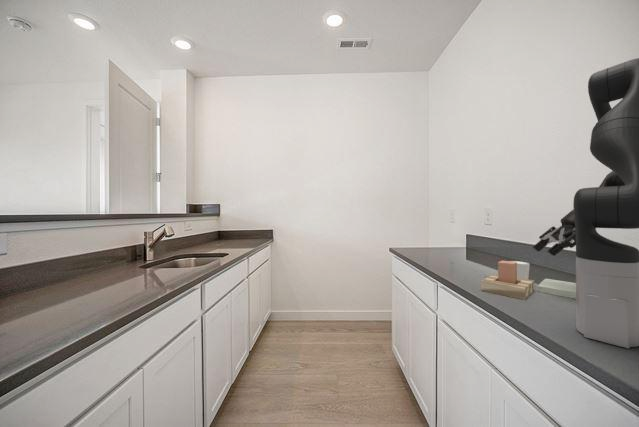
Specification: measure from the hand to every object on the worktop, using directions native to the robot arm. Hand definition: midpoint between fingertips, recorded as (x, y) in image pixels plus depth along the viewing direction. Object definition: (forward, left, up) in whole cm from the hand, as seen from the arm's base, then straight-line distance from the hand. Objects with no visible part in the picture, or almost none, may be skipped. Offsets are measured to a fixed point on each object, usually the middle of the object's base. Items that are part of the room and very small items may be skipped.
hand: (542, 251), depth 83 cm
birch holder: (-6, +8, -14) cm, 17 cm away
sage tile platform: (+7, -6, -14) cm, 17 cm away
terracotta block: (-6, +8, -14) cm, 17 cm away
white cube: (+14, +9, -14) cm, 22 cm away
